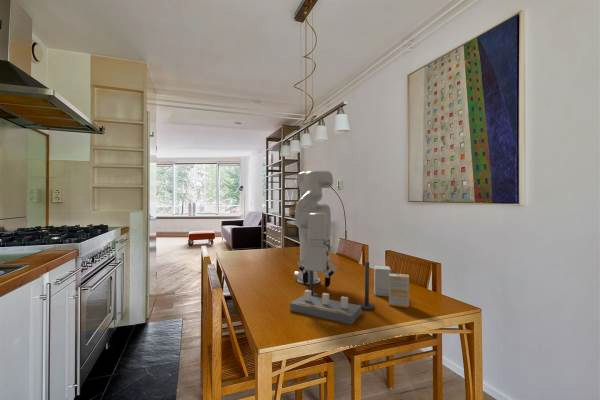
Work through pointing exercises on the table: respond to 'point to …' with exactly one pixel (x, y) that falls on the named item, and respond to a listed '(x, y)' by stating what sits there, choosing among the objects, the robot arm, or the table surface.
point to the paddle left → (307, 295)
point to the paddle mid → (325, 298)
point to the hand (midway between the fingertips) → (316, 284)
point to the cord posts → (365, 305)
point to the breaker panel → (326, 309)
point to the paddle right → (344, 302)
